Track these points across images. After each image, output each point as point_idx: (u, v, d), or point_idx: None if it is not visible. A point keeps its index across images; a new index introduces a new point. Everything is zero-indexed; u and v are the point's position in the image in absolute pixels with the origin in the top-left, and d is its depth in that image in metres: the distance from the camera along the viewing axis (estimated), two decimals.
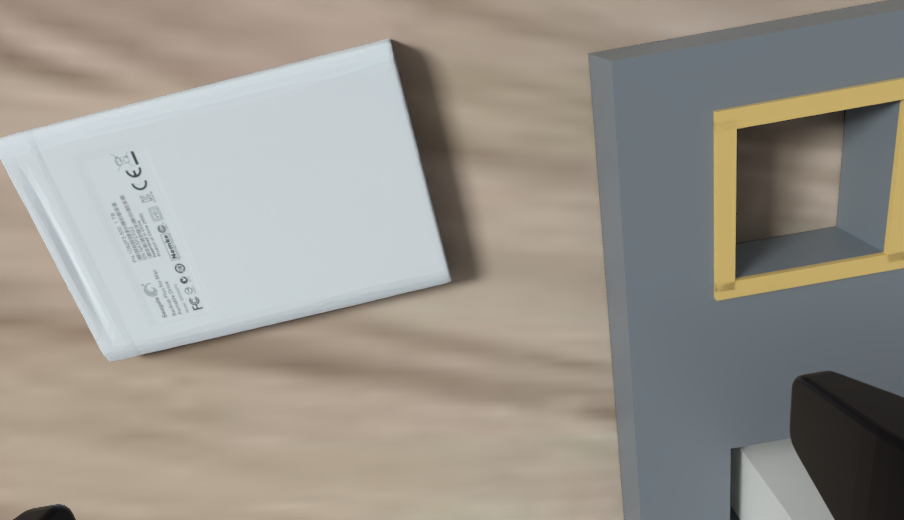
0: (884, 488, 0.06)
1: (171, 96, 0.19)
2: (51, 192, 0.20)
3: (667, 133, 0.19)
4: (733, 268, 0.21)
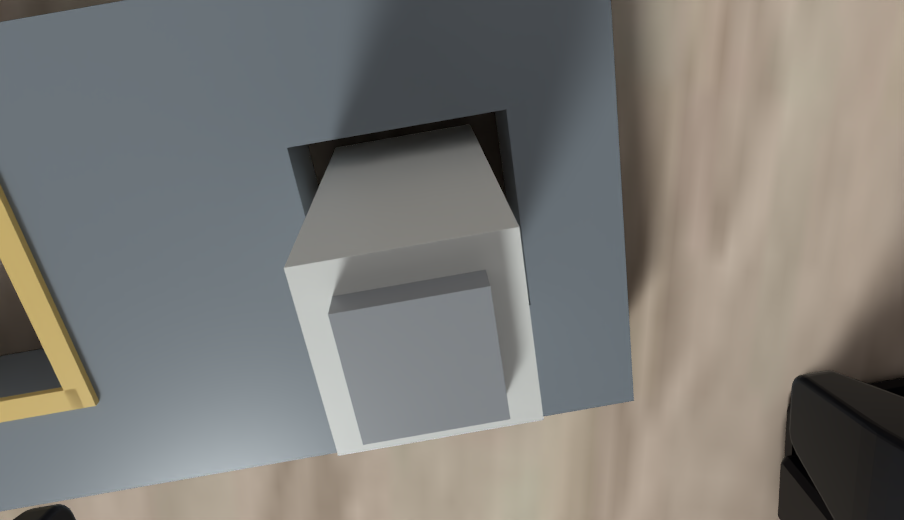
0: (884, 488, 0.06)
1: None
2: None
3: None
4: (46, 394, 0.16)
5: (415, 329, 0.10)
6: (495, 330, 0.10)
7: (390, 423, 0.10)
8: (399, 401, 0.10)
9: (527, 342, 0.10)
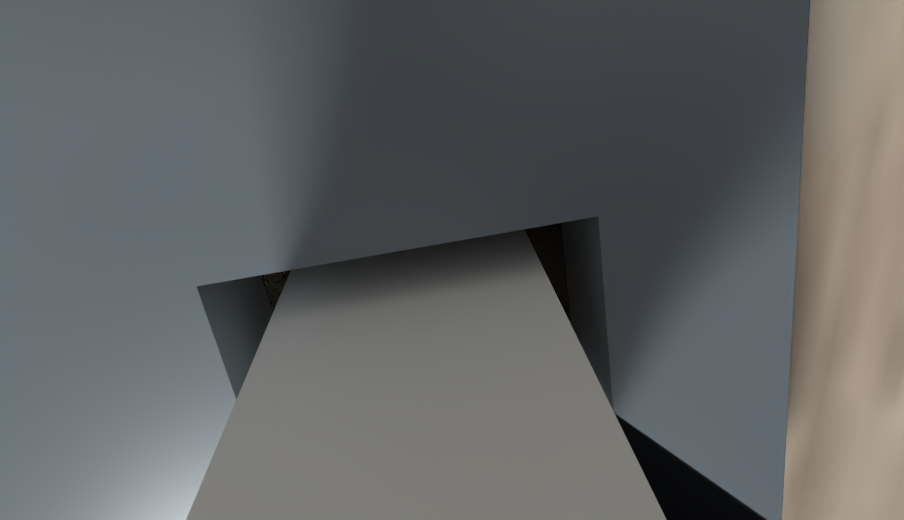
0: None
1: None
2: None
3: None
4: None
5: None
6: None
7: None
8: None
9: None
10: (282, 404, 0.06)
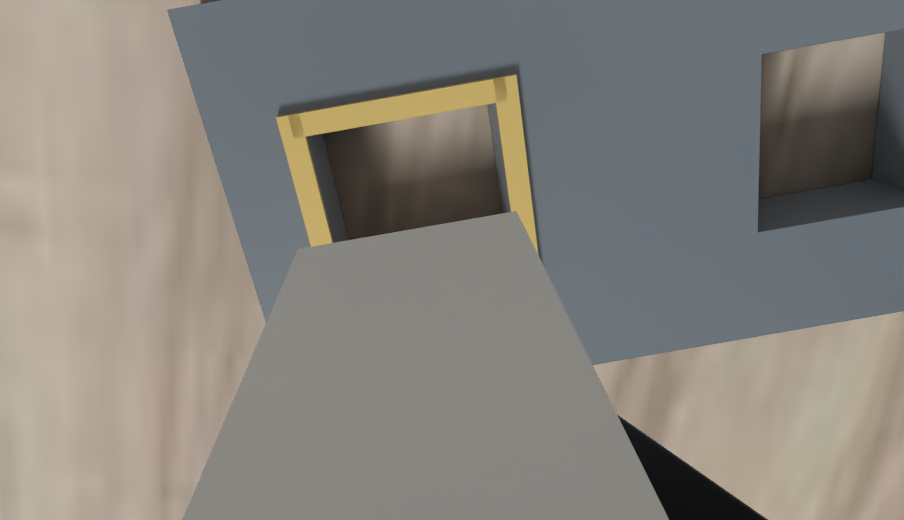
0: None
1: None
2: None
3: None
4: None
5: None
6: None
7: None
8: None
9: None
10: (280, 402, 0.06)
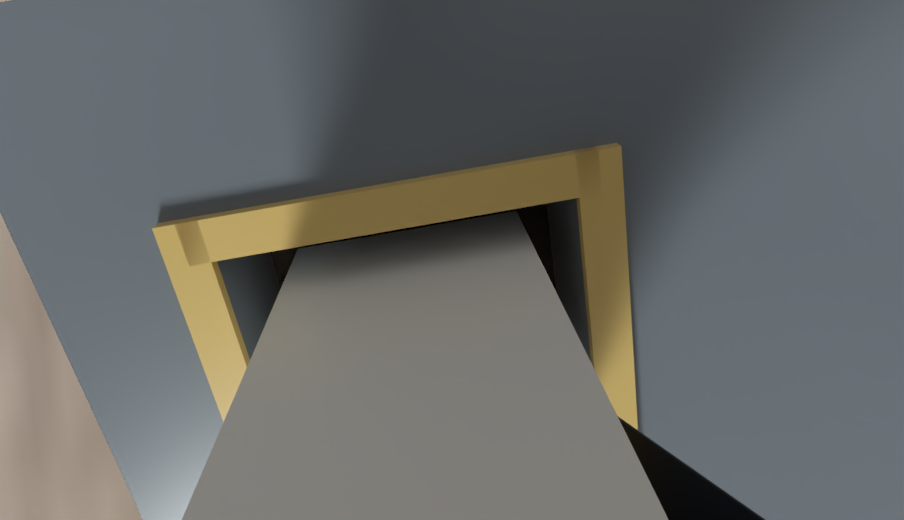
0: None
1: None
2: None
3: None
4: None
5: None
6: None
7: None
8: None
9: None
10: (280, 401, 0.06)
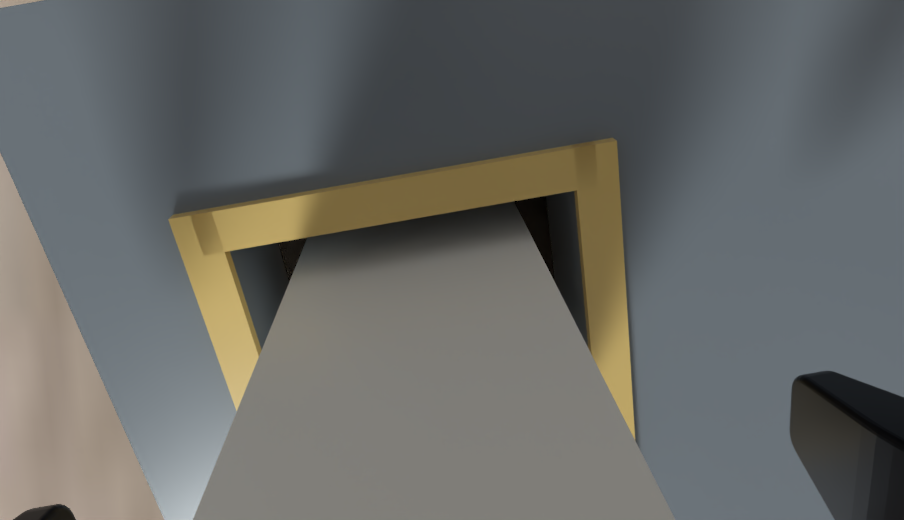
0: (884, 488, 0.06)
1: None
2: None
3: None
4: None
5: None
6: None
7: None
8: None
9: None
10: (307, 335, 0.08)
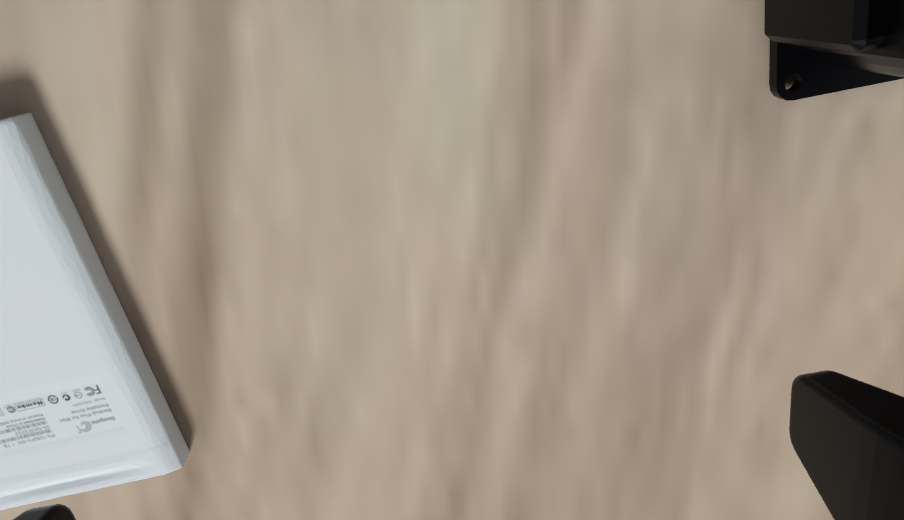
0: (884, 488, 0.06)
1: None
2: None
3: None
4: None
5: None
6: None
7: None
8: None
9: None
10: None
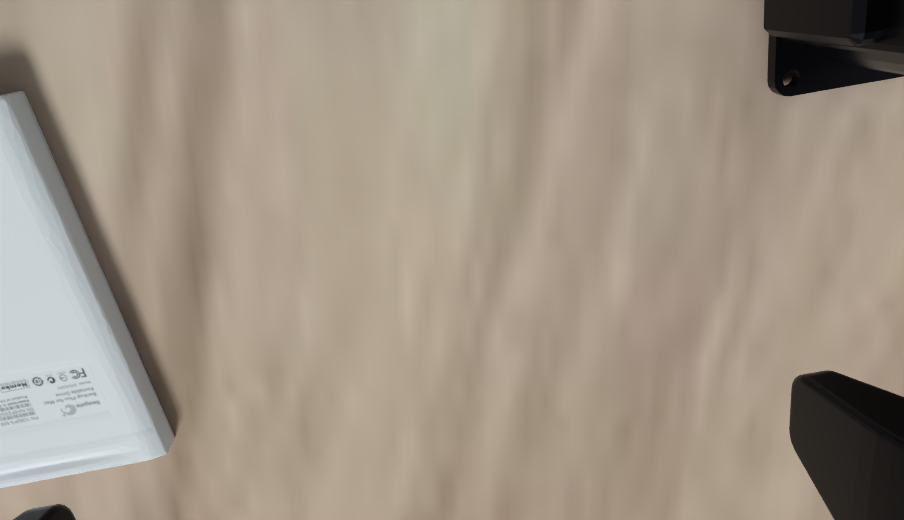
0: (884, 488, 0.06)
1: None
2: None
3: None
4: None
5: None
6: None
7: None
8: None
9: None
10: None
